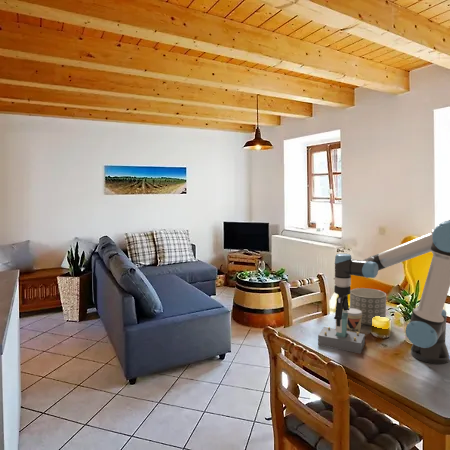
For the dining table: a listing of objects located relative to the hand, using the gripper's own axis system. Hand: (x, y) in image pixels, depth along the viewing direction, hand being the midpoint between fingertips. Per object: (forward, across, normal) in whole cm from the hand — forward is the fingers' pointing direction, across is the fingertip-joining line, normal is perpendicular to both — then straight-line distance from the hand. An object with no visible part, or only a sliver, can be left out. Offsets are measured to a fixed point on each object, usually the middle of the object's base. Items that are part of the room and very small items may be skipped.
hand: (341, 327), depth 175 cm
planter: (+9, -35, +7) cm, 37 cm away
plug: (+9, 0, 0) cm, 9 cm away
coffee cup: (+9, -18, +2) cm, 20 cm away
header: (+9, 0, 0) cm, 9 cm away
